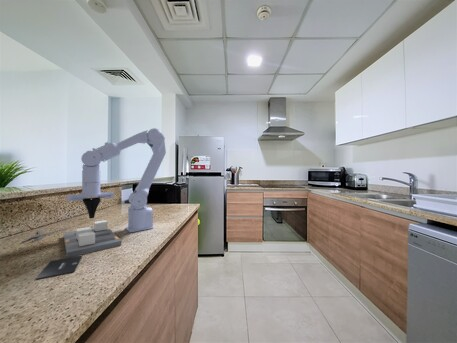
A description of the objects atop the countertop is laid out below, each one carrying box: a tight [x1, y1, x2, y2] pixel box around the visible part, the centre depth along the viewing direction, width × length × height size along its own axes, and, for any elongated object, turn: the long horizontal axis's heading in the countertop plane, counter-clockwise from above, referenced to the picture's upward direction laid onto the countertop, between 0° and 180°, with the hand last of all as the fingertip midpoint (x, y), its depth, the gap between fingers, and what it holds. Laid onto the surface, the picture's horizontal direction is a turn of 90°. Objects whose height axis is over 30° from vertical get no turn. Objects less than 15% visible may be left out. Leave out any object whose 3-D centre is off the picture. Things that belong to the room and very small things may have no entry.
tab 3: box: [93, 219, 109, 231], centre depth 76 cm, size 4×4×3 cm
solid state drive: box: [36, 255, 83, 281], centre depth 50 cm, size 7×10×1 cm
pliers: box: [21, 225, 71, 244], centre depth 76 cm, size 10×1×20 cm
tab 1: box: [75, 226, 93, 240], centre depth 67 cm, size 4×4×3 cm
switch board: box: [63, 227, 122, 258], centre depth 68 cm, size 14×23×2 cm, turn 43°
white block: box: [78, 232, 95, 247], centre depth 62 cm, size 4×4×3 cm
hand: (91, 217), depth 74 cm, fingers closed
